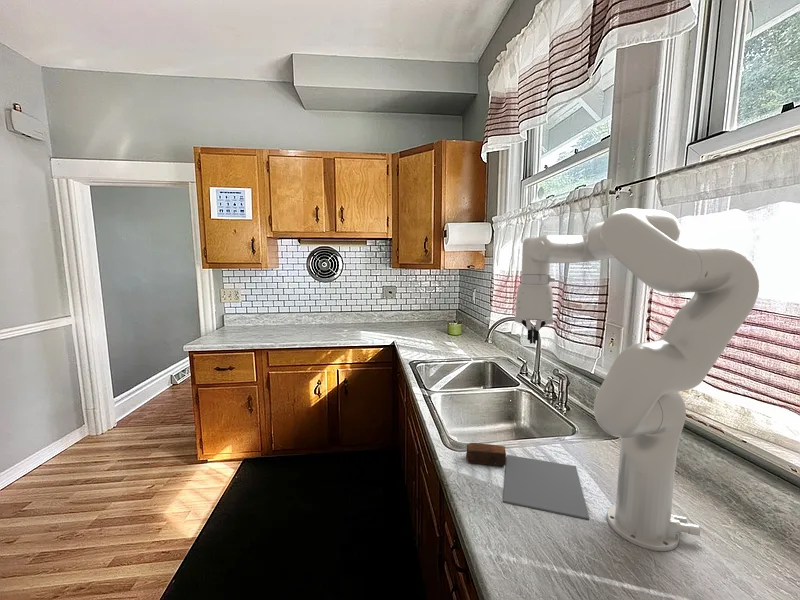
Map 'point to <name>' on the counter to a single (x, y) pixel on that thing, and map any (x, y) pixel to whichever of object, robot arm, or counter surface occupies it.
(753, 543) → the counter surface
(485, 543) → the counter surface
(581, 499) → the mat
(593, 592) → the counter surface
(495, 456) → the brick
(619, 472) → the robot arm
